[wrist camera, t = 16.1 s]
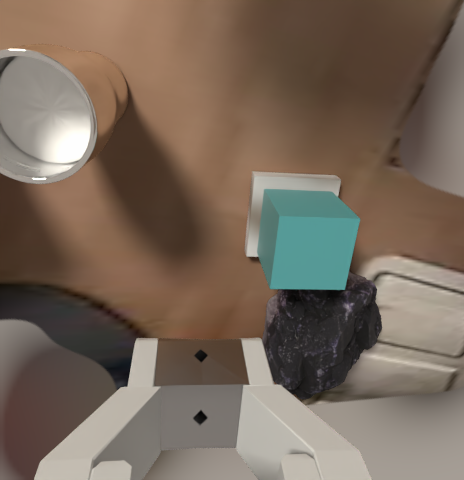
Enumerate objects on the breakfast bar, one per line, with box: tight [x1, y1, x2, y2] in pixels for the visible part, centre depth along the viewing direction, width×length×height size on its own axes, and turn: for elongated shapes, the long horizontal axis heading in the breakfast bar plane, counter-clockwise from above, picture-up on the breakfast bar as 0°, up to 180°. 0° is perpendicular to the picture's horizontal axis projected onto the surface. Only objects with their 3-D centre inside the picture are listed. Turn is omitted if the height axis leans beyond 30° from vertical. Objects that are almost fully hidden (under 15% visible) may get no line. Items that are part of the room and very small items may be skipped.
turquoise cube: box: [257, 189, 360, 290], centre depth 35 cm, size 6×6×7 cm
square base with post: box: [245, 171, 341, 257], centre depth 37 cm, size 8×8×8 cm
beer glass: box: [0, 44, 128, 184], centre depth 28 cm, size 7×7×15 cm
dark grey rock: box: [262, 272, 382, 399], centre depth 42 cm, size 13×14×10 cm
